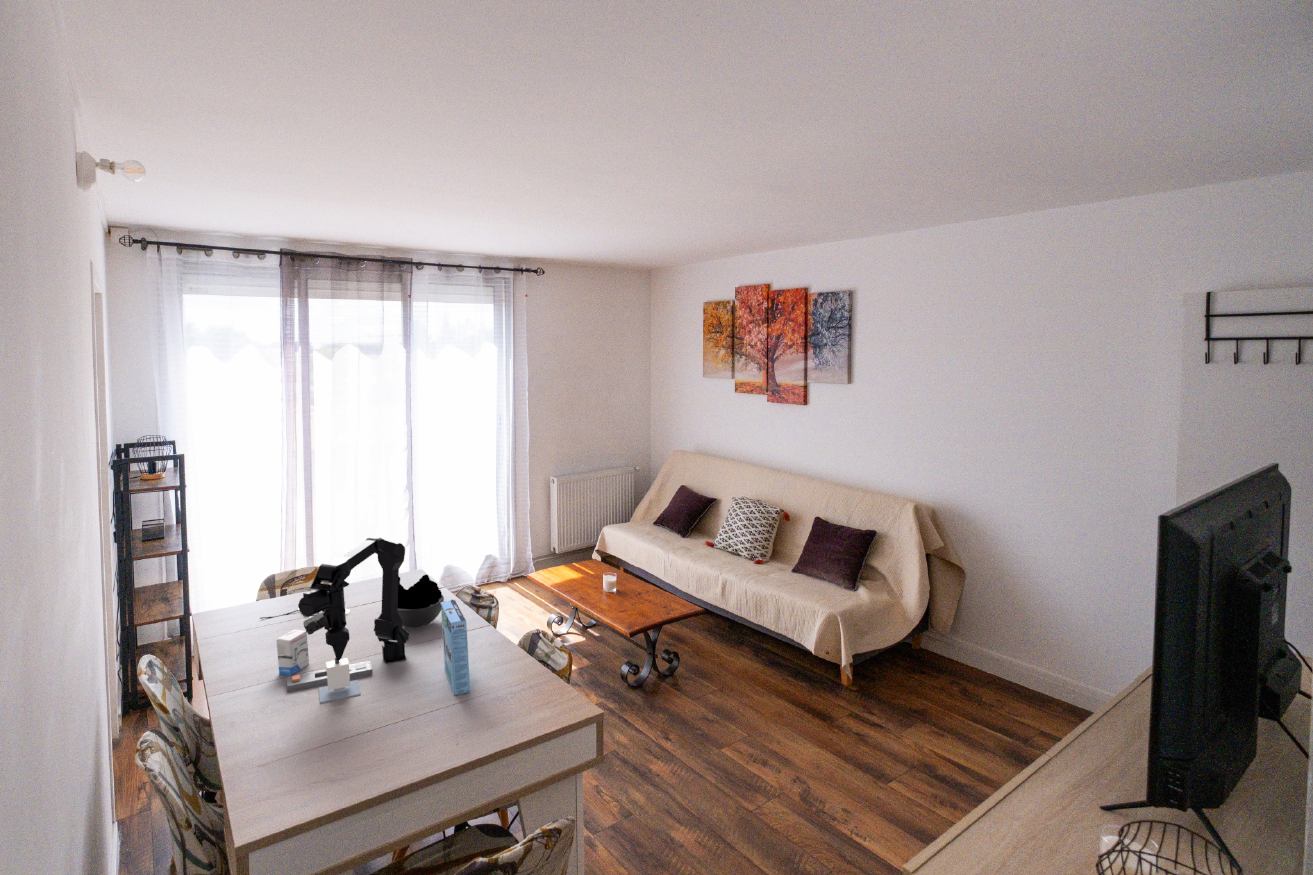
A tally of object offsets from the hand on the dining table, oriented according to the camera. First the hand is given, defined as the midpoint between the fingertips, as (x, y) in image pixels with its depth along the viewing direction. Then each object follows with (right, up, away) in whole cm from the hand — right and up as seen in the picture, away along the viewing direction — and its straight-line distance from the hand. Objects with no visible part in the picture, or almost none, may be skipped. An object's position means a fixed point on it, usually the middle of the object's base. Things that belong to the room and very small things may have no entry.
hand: (337, 653), depth 212 cm
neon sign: (-42, -5, +63) cm, 76 cm away
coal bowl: (+7, -5, +51) cm, 52 cm away
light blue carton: (+34, -11, +8) cm, 36 cm away
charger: (0, -11, +1) cm, 11 cm away
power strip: (-7, -11, +9) cm, 16 cm away
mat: (0, -12, +1) cm, 12 cm away
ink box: (-21, -10, +16) cm, 29 cm away
